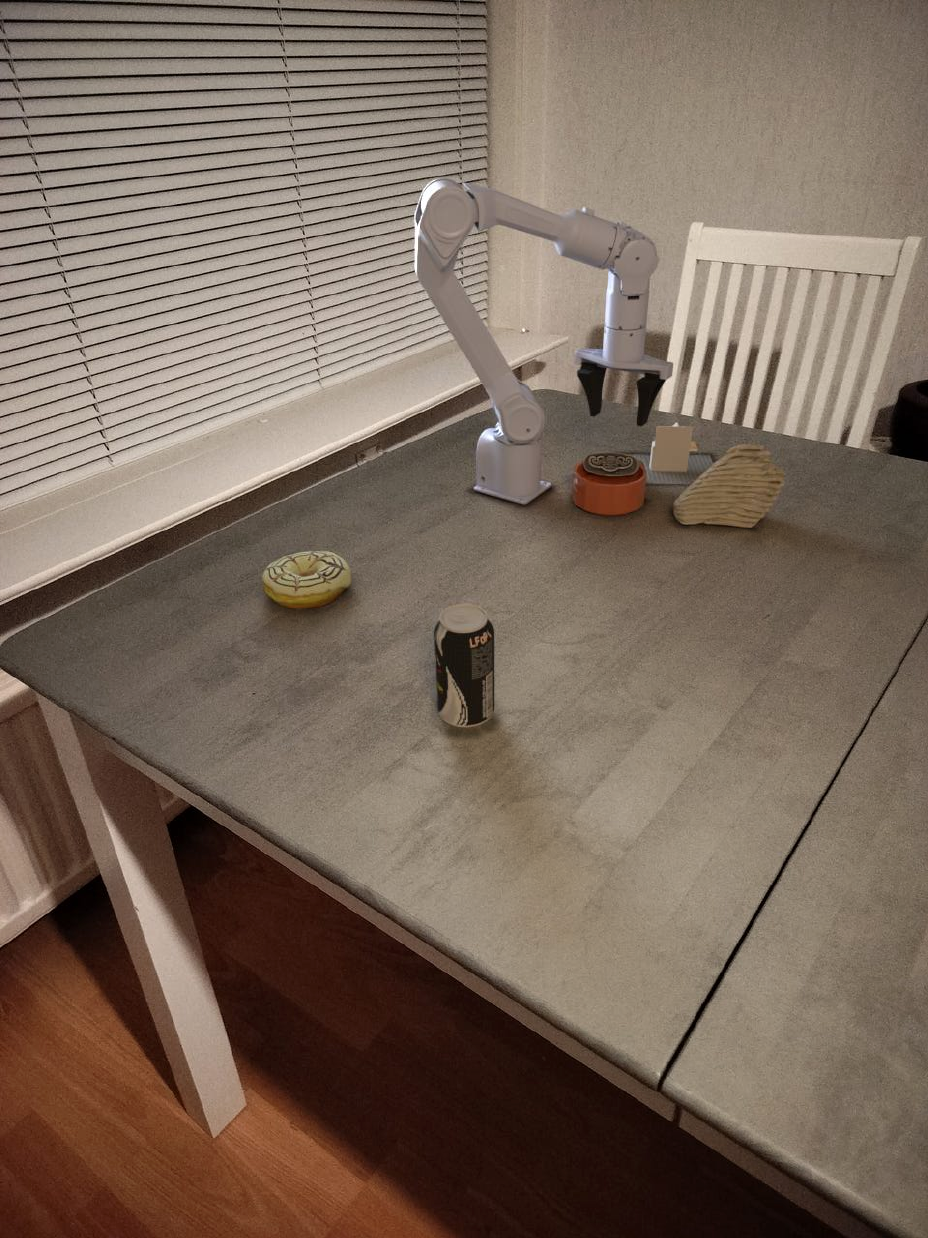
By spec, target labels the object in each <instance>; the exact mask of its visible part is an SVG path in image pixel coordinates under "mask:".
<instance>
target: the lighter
mask: <svg viewBox="0 0 928 1238" xmlns="http://www.w3.org/2000/svg"><path fill="white" fill-rule="evenodd" d="M630 455H631V454H626V453H620V452H613V451H609V452H608V451H607V452H606V451H604V452H603V451H602V452H594V453H593V452H592V453H589V454H587V455H585V457H584V459H583V460H584V468H585V469H586V470H587V471H589V472H592V473H596V474H599V475H606V476H631V475H635V474H637V473H638V471H639V466H640V464H641V465H642V466H643V467H644V468H645V465H644V463H643V462H642V461H640V460H637V458H635V457H633V456H630Z"/></svg>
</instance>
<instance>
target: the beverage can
mask: <svg viewBox="0 0 928 1238" xmlns="http://www.w3.org/2000/svg"><path fill="white" fill-rule="evenodd" d="M433 642H434V646H433V647H434V664H435V681H436V682H435V683H436V700H437V701H436V702H437V712H438V716H439V717H440V718H441V719H442V720H443V721H444V722H445V723H447V724H449V725H451V726H453V727H458V728H473V727H478V726H480V725H483V724H484V723H486V722H487V721H489V720H490V719H491V717H492V716H493V714H494V712H495V628H494V625H493V623H492V622H491V620H489V617H488V613H487V611H486V610H485V609H484V608H482V607H480V606H479V605H475V604H472V603H457V604H453V605H450V606H448V607H446V608H444V609H443V610H442V611H441V613H440V614H439V620H438V621H437V622H436V624H435V626H434V630H433Z"/></svg>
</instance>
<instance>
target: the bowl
mask: <svg viewBox="0 0 928 1238" xmlns="http://www.w3.org/2000/svg"><path fill="white" fill-rule="evenodd" d="M646 473H647V470H646V469H645V468H644V467H643V466H642V465H641V464H640V466H639V471H638V473H637V474H635V475H631V476H606V475H599V474H596V473H592V472H589V471H587V470H586V469H585V468H584V459H583V460H581V461H579V462H578V463H576V464H575V466H574V469H573V474H572V475H573V477H572V494H571V500H572V502H573V503H574V505H575V506H577V507H579V508H580V509H582V510H584V511H586V512H588V513H591V514H595V515H600V516H611V517H612V516H621V515H626V514H629V513H631V512H634V511H637V510H638V509H640V508H641V507H642V506H643V505H644V499H645V490H646V484H645V483H646Z"/></svg>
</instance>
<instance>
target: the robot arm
mask: <svg viewBox="0 0 928 1238" xmlns="http://www.w3.org/2000/svg"><path fill="white" fill-rule="evenodd" d="M462 185H463V186H464V187H465V188H466V190H464V188H463V187H462ZM462 185H460V184H459V182H457V181H455V180H454V179H451V178H449V177H439V178H435V179H433V180H432V181H430V182H429V183H427V185H426V186H425V187H424V188H423V189H422V191H421V194H420V197H419V200H418V203H417V205H416V208H415V209H416V210H415V211H414V272H415V275H416V277H417V281H418V282H419V283H420V285H421V287H422V289H423V290H424V292H425V293H426V295H427V297H428V298H429V300H430V301H431V303H432V305H433V306H434V308H435V310H436V312H437V313H438V314H439V316H440V318H441V319H442V321H443V322H444V324H445V326H446V327H447V329H448V331H449V332H450V334H451V336H452V337H453V338H454V340H455V342H456V344H457V346H458V347H459V348H460V350H461V352H462V354H463V355H464V356H465V358H466V360H467V361H468V363H469V365H470V366H471V368H472V370H473V371H474V373H475V375H476V376H477V377H478V379H479V381H480V382H481V384H482V386H483V387H484V389H485V391H486V392H487V393H486V394H488V397H489V398H490V400H491V404H492V410H493V412H494V415H496V417H497V419H498V421H497V422H496V425H495V427H489V428H487V429H485V430H483V432H482V433H481V434H480V436H479V438H478V440H477V444H476V449H475V467H476V468H475V469H476V472H475V473H476V485H475V486H473V490H474V492H478V493H481V494H485V495H489V496H492V497H495V498H499V499H502V500H506V501H509V502H513V503H516V504H519V505H527V504H529V503H530V502H532V501H533V500H535V499H536V498H537V497H539V496H540V495H541V494H543V493H544V492H545V491H547V490H548V489H550V488H551V487H552V483H551V482H548V481H544V480H542V479H541V478H542V477H541V475H542V448H543V447H542V445H543V430H544V428H545V424H546V417H545V416H546V415H545V413H544V411H543V409H542V407H541V406H540V405H539V404H538V402H537V400H536V398H535V396H534V393H533V391H532V389H531V387H530V386H529V385H527V384H526V383H524V382H523V381H521V380H519V378H517V376H516V375H515V373H514V371H513V370H512V368H511V366H510V365H509V363H508V361H507V360H506V358H505V356H504V355H503V353H502V351H501V350H500V348H499V346H498V345H497V343H496V341H495V340H494V338H493V336H492V335H491V333H490V331H489V330H488V329H489V328H487V326H486V324H485V323H484V321H483V319H482V318H481V316H480V314H479V313H478V311H477V309H476V307H475V305H474V304H473V302H472V300H471V298H470V297H469V295H468V294H467V292H466V290H465V288H464V287H463V285H462V284H461V282H460V280H459V279H458V277H457V275H456V273H455V272H454V271H455V267H456V264H457V259H458V256H459V253H460V248H461V247H462V246H463V244H464V242H465V241H466V240H467V239H468V237H469V235H470V234H471V232H472V230H473V228H475V229H476V230H477V231H478V232H479V233H480V232H483V231H485V230H488V229H490V228H492V227H495V226H502V227H506V228H508V229H512V230H515V231H518V232H522V233H525V234H527V235H528V234H529V235H532V236H535V237H538V238H541V239H544V240H548V241H551V242H552V243H553V244H554V247H555V250H556V252H557V254H558V255H559V256H561V257H564V258H567V259H570V260H573V261H576V262H579V263H582V264H584V265H588V266H590V267H593V268H596V269H599V270H608V275H607V289H606V296H605V313H604V327H603V328H604V329H603V344H602V345H603V347H602V349H600V348H586V347H580V348H578V349H577V350H575V351H574V365H578V366H580V367H579V369H577V370H576V376H577V378H578V380H579V382H580V384H581V386H582V389H583V391H584V393H585V396H586V400H587V405H588V410H589V415H590V417H594V418H595V417H596V416H598V415H599V414H601V413H602V405H603V388H604V383H605V377H606V373H607V369H609V370H615V371H620V372H621V371H622V372H627V373H633V374H638V375H643V376H642V377H641V378H639V379H638V380H636V389H637V413H636V426H638V427H642V426H644V425H645V424H647V423H648V420H649V417H650V413H651V410H652V407H653V406H654V403H655V400H656V399H657V396H658V394H659V393H660V391H661V389H662V387H663V386H664V385H665V383H666V382H667V380H669V379H670V378H672V377H673V370H674V362H672V361H667V360H663V359H661V358H657V357H654V356H651V355H647V354H645V344H646V334H647V333H646V331H647V323H648V310H649V299H650V283H651V282H650V281H651V276H653V274H654V273H655V271H656V270H657V267H658V265H659V262H660V256H658V251H657V246H656V244H655V243H654V242H653V239H651V238H650V237H649V236H647V235H646V234H644V233H643V232H641V231H639V230H637V229H635V228H633V227H632V226H631V225H628V224H627V223H626V222H624V221H622V220H618V221H617V223H615V222H613V221H610V220H608V219H604V218H603V217H599V216H597V215H595V210H593V209H592V208H589V207H587V206H583V207H582V210H580V209H577V208H573V209H570V210H568V211H567V212H565V213H563V214H557V213H555V212H552V211H549V210H548V209H545V208H542V207H540V206H538V205H535V204H532V203H529V202H527V201H524V200H522V199H520V198H517V197H514V196H512V195H509V194H507V193H504V192H502V191H499V190H497V189H493V188H490V187H487V186H482V185H478V184H475V183H474V184H473V183H470V182H469V183H468V182H462Z"/></svg>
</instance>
